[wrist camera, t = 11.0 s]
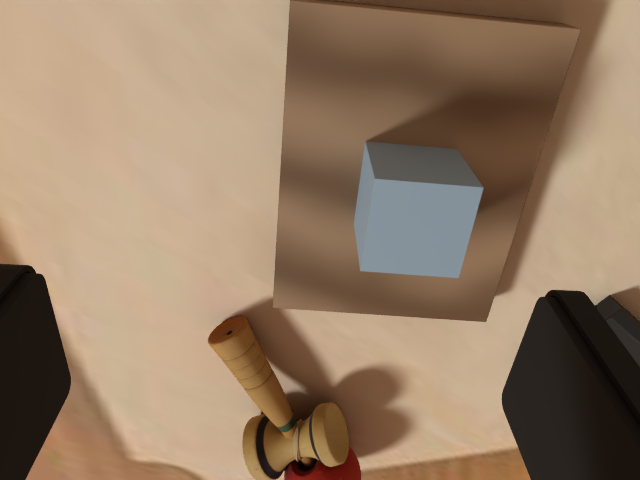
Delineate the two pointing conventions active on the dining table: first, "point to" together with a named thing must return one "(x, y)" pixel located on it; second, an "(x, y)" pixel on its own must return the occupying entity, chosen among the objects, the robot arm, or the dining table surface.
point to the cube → (414, 210)
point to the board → (407, 142)
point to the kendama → (282, 418)
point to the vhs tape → (622, 325)
